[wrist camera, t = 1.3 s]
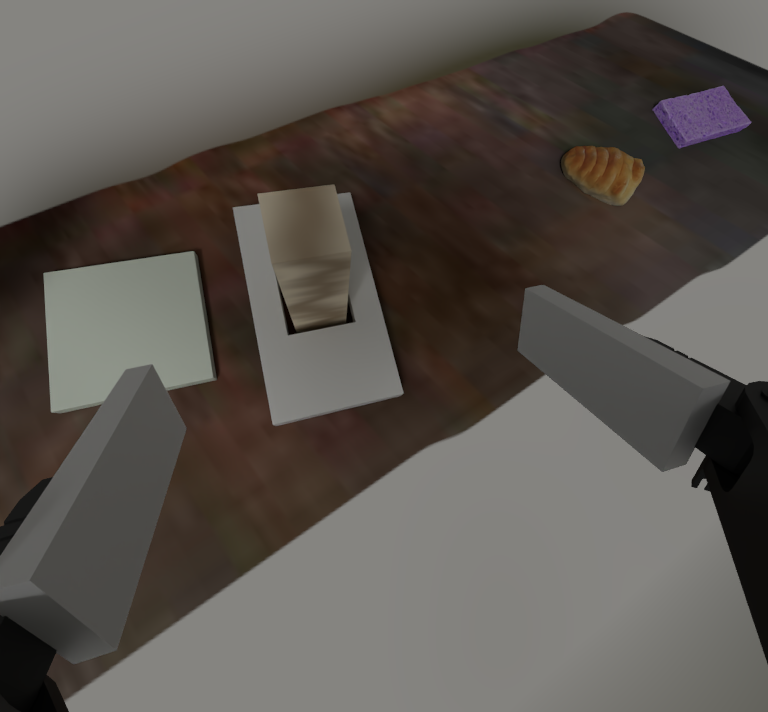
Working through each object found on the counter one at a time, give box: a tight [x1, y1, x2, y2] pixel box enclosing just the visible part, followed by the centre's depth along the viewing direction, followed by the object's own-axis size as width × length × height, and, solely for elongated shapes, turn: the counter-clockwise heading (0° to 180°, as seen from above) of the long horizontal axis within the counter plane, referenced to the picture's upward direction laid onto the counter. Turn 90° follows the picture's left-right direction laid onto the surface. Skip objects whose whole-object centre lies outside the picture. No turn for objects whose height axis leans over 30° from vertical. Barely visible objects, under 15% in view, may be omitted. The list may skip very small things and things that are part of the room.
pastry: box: [561, 146, 645, 206], centre depth 43 cm, size 9×7×4 cm
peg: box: [258, 184, 351, 333], centre depth 29 cm, size 5×5×14 cm
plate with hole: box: [233, 192, 403, 426], centre depth 35 cm, size 12×22×2 cm, turn 15°
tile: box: [43, 251, 217, 413], centre depth 33 cm, size 13×13×1 cm
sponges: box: [653, 86, 751, 148], centre depth 49 cm, size 7×13×2 cm, turn 113°
